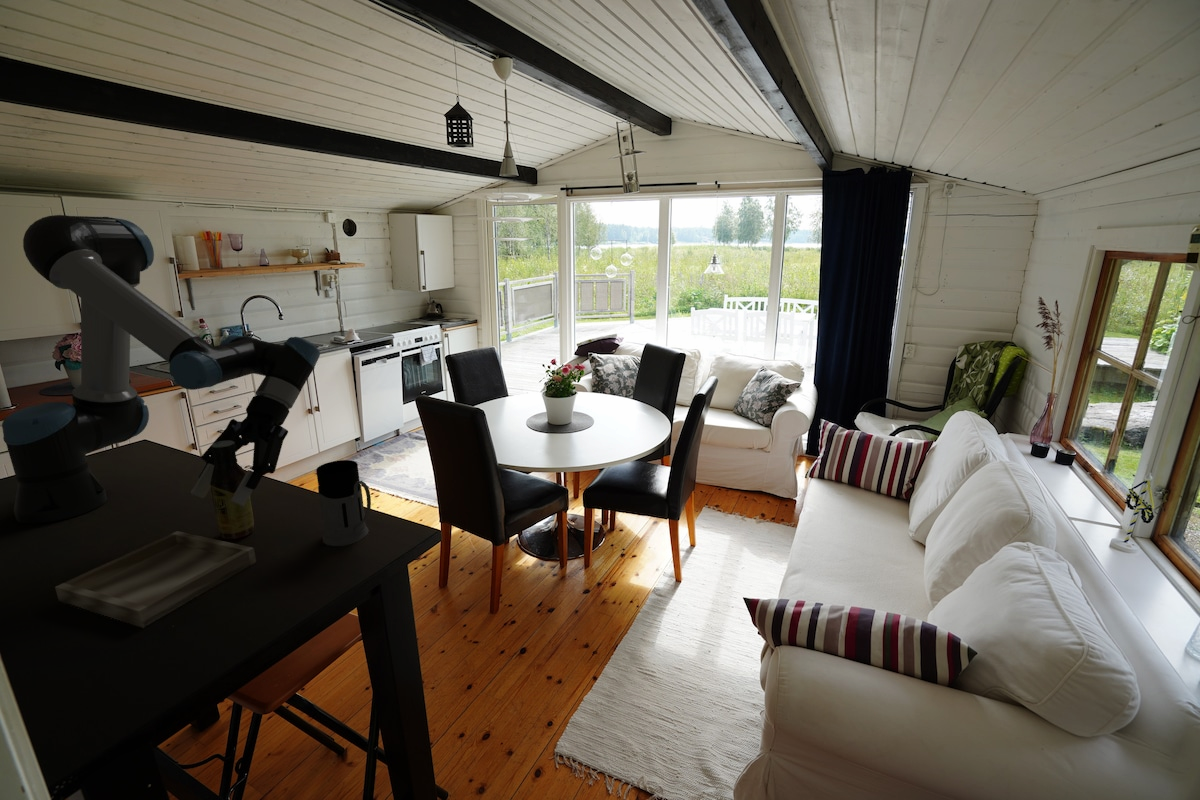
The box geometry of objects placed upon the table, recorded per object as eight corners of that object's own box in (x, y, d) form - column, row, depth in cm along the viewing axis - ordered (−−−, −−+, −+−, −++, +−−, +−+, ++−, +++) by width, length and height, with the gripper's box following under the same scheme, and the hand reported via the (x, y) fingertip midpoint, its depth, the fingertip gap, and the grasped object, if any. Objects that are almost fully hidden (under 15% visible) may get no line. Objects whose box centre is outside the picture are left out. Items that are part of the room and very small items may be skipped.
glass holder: (352, 521, 122) (344, 455, 118) (394, 539, 114) (386, 470, 110) (313, 538, 115) (303, 469, 111) (354, 559, 107) (345, 485, 103)
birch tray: (59, 602, 94) (54, 586, 93) (180, 544, 112) (177, 531, 111) (143, 627, 88) (139, 611, 87) (256, 562, 106) (253, 547, 105)
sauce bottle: (216, 534, 116) (198, 442, 111) (250, 523, 121) (234, 435, 116) (225, 545, 112) (207, 450, 107) (260, 533, 116) (244, 442, 111)
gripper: (325, 416, 121) (274, 514, 111) (246, 406, 128) (191, 498, 118) (302, 398, 115) (245, 500, 105) (220, 389, 122) (159, 484, 112)
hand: (216, 499), depth 111 cm, fingers open, 10 cm apart
